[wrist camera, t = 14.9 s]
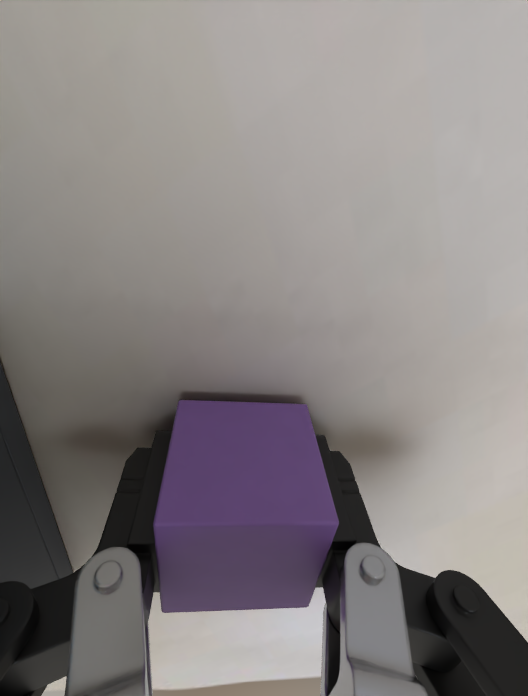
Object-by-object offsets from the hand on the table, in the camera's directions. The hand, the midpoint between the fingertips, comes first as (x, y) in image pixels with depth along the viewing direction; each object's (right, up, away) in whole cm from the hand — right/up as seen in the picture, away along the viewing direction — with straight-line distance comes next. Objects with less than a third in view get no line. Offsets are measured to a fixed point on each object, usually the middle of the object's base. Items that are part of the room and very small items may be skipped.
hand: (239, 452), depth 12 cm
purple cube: (0, 0, 0) cm, 0 cm away
